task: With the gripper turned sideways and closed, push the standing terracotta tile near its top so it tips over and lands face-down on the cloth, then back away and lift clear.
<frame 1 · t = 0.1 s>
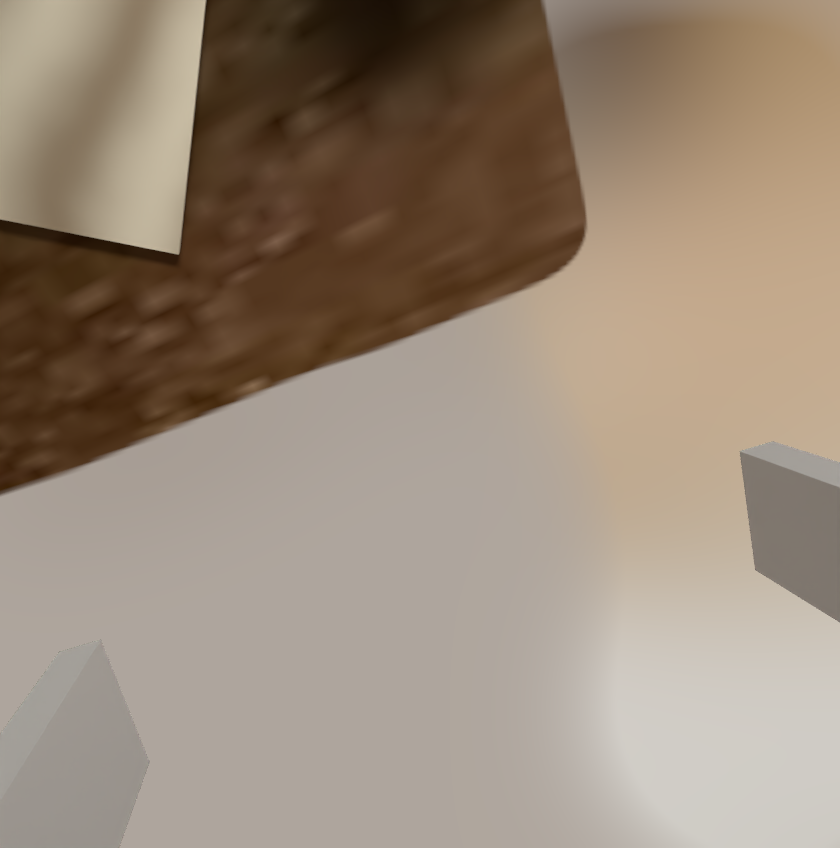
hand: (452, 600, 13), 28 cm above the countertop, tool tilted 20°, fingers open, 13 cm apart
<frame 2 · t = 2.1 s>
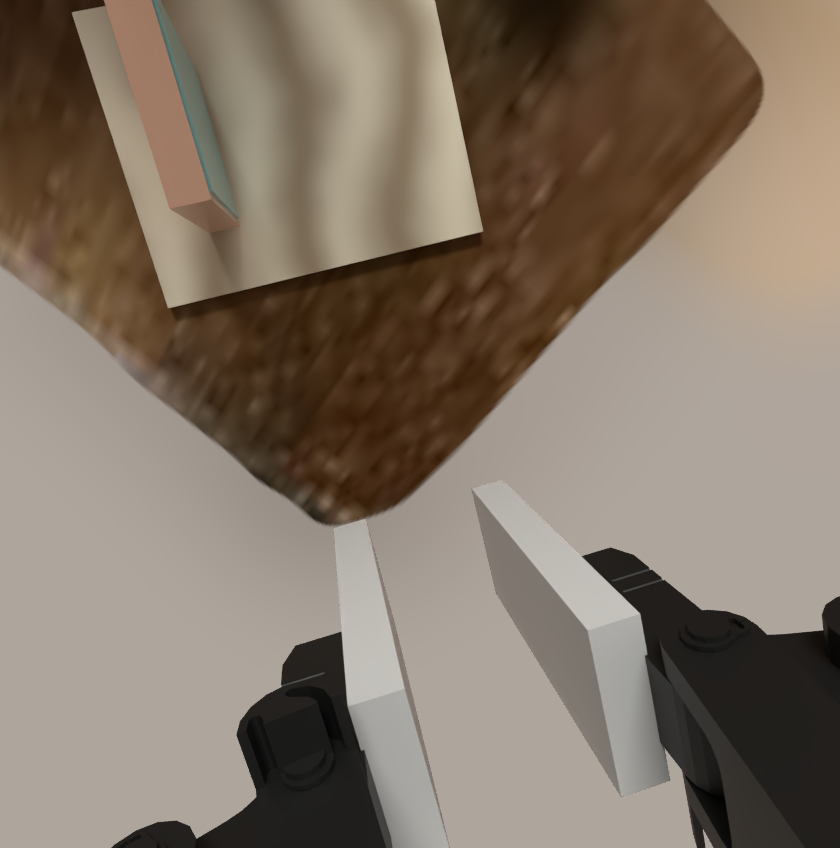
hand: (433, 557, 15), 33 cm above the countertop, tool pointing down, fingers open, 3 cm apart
cloth: (293, 133, 43), on the countertop
tile: (200, 150, 41), point 1 cm above the countertop, touching cloth
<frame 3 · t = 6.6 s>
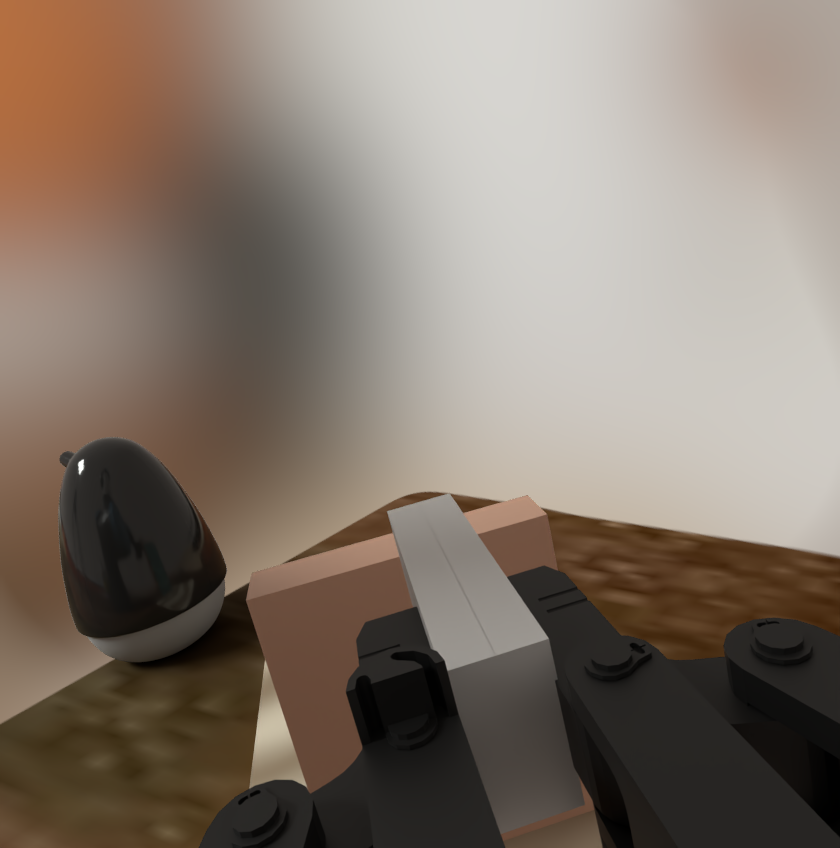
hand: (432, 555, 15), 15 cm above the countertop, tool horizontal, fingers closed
cloth: (442, 738, 31), on the countertop
tile: (469, 828, 25), point 1 cm above the countertop, touching cloth
black glossy egg shape: (170, 640, 46), on the countertop
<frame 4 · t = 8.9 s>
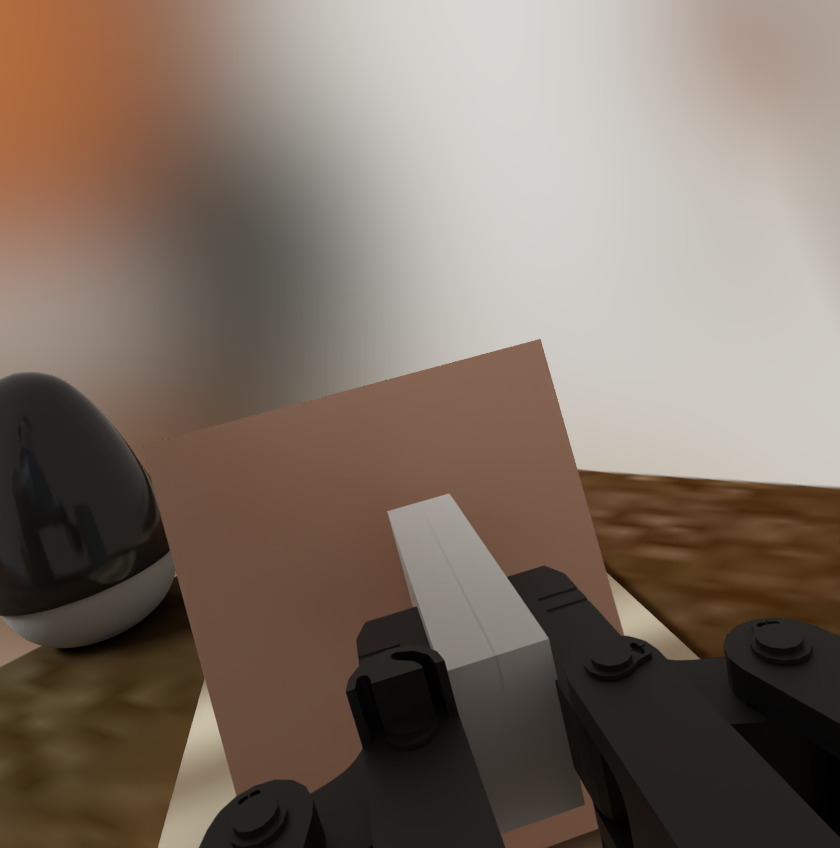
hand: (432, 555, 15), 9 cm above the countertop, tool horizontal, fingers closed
cloth: (438, 729, 22), on the countertop
tile: (473, 846, 16), point 1 cm above the countertop, tilted 14°, touching cloth
black glossy egg shape: (110, 623, 38), on the countertop
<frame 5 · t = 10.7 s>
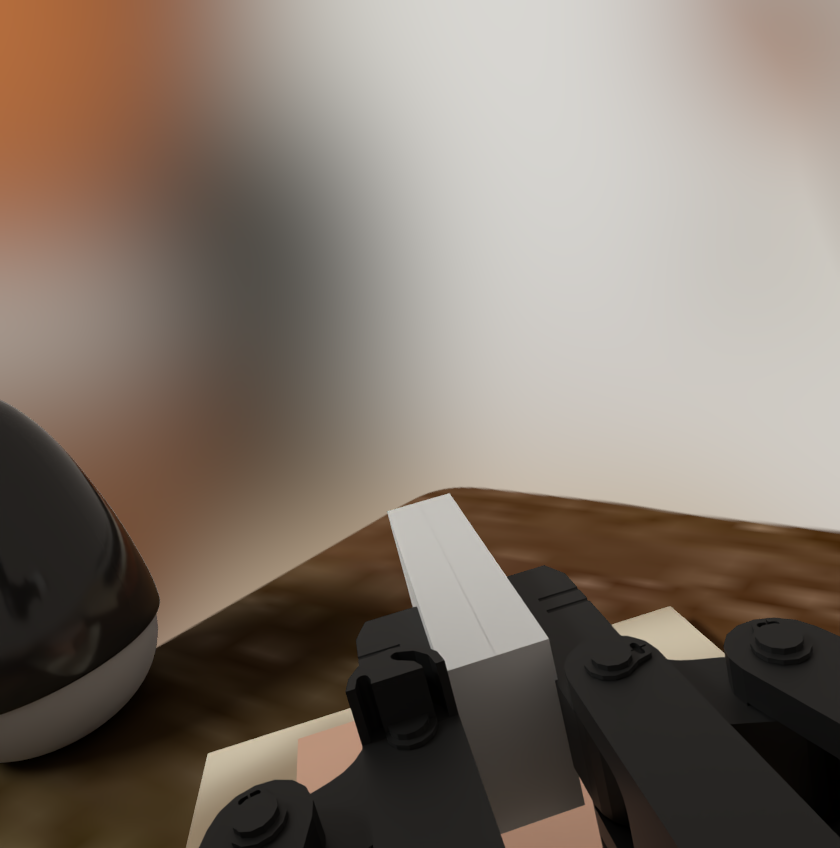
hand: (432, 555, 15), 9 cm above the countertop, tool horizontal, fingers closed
black glossy egg shape: (71, 718, 29), on the countertop
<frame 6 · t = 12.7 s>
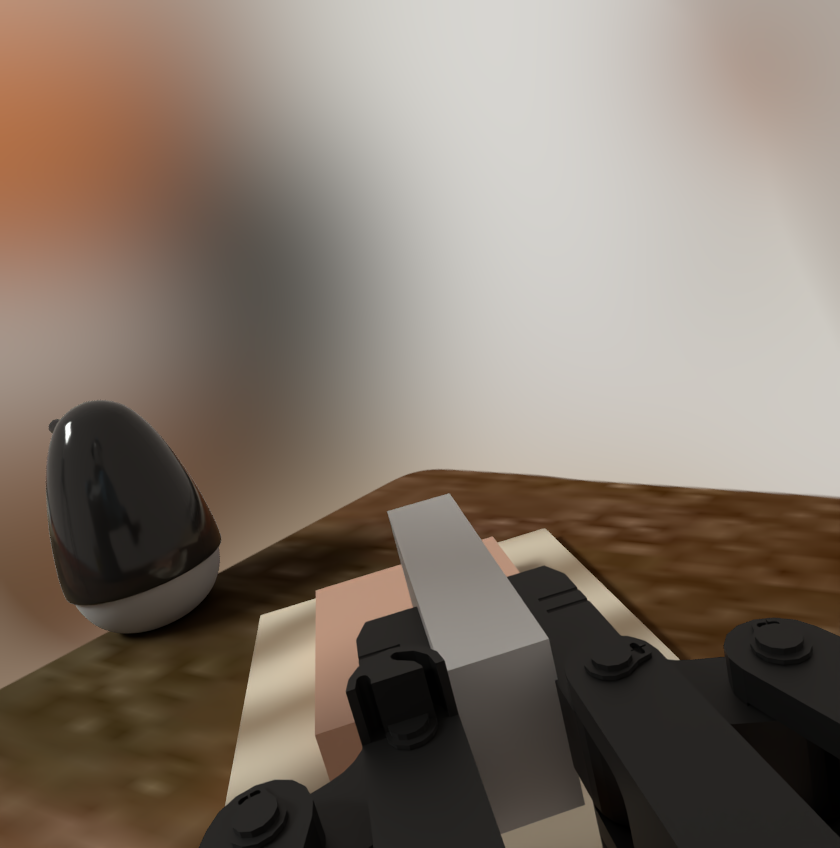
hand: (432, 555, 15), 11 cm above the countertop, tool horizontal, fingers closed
cloth: (443, 685, 29), on the countertop
tile: (455, 714, 24), point 2 cm above the countertop, tilted 90°, touching cloth
black glossy egg shape: (164, 614, 45), on the countertop
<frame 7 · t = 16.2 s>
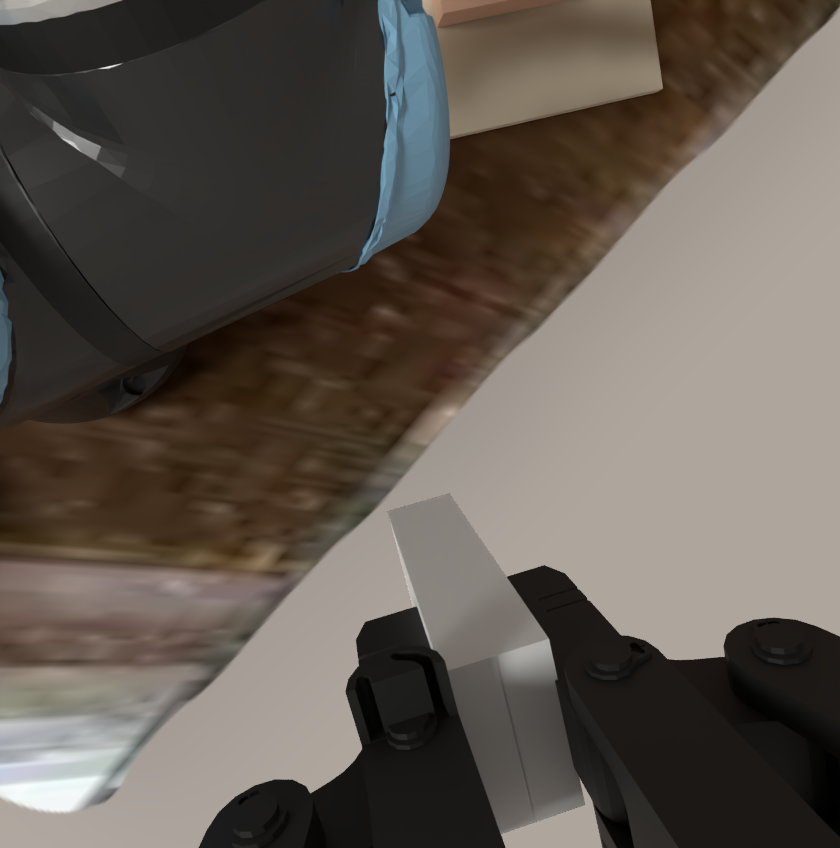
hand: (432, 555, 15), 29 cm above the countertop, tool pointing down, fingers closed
tile: (519, 4, 39), point 2 cm above the countertop, tilted 90°, touching cloth
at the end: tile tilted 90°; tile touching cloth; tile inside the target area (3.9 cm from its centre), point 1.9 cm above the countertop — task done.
